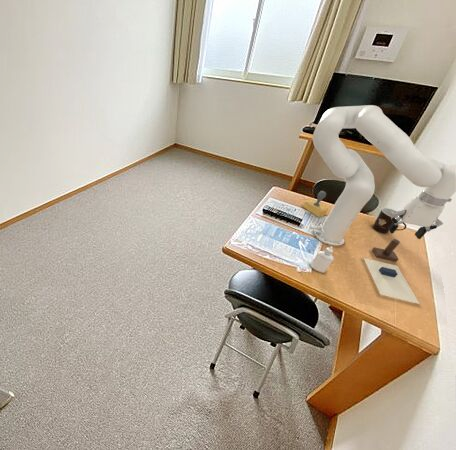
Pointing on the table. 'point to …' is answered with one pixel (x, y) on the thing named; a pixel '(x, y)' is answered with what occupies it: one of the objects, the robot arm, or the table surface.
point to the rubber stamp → (316, 205)
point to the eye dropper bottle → (322, 260)
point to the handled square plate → (387, 251)
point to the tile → (390, 282)
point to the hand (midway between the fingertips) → (403, 234)
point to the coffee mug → (384, 221)
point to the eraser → (388, 272)
